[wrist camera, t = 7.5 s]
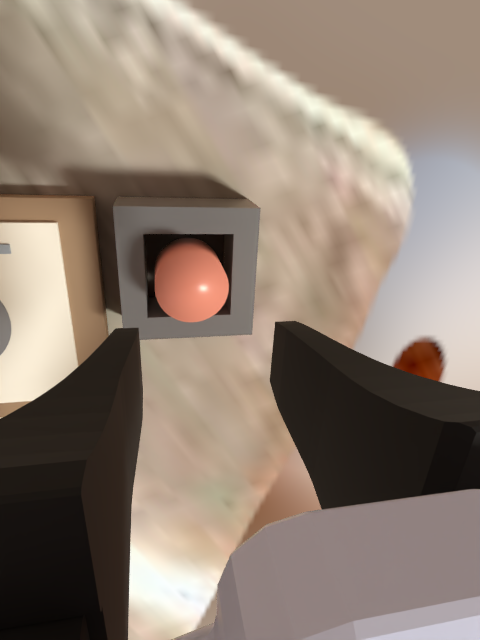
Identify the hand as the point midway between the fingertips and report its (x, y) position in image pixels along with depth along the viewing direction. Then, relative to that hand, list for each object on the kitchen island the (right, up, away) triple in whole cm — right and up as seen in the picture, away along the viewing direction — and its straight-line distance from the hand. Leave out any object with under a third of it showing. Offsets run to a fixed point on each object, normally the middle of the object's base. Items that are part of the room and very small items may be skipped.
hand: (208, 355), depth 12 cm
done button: (-2, +3, +7) cm, 8 cm away
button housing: (-2, +4, +8) cm, 9 cm away
